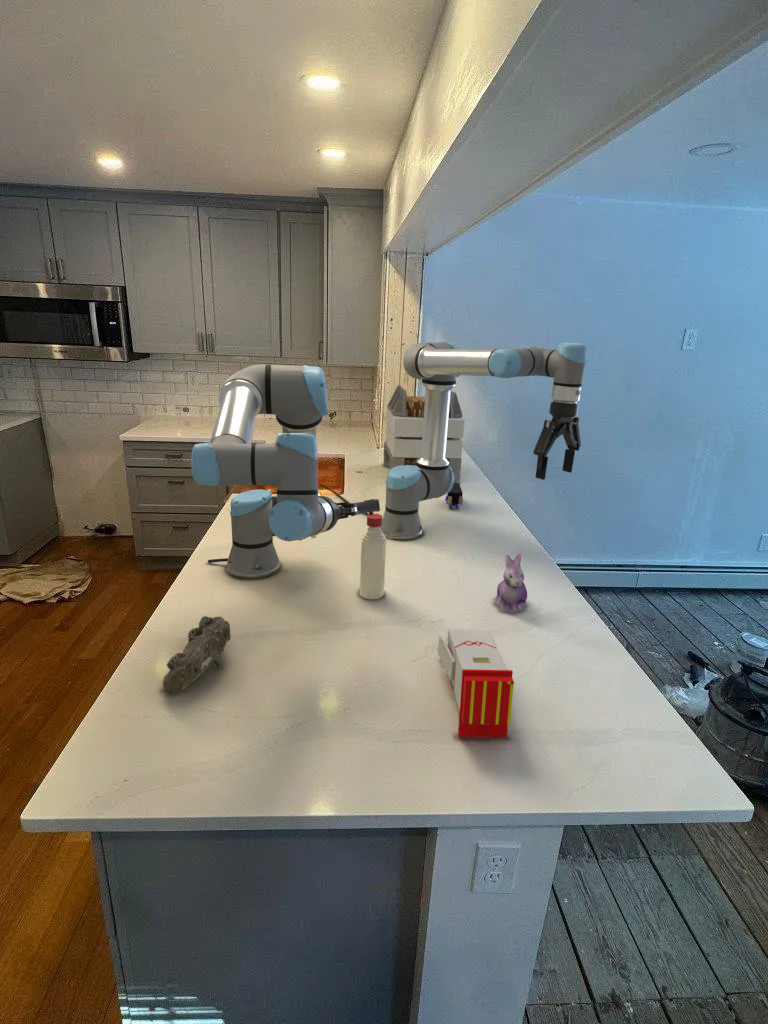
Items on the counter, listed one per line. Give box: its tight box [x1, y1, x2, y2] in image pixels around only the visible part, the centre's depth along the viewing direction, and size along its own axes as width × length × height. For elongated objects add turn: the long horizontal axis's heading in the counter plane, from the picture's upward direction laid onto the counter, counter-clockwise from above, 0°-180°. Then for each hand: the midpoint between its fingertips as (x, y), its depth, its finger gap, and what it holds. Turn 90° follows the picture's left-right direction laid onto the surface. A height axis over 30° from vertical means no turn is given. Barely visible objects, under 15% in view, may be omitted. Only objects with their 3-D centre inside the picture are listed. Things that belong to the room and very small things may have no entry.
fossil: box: [162, 615, 232, 693], centre depth 122 cm, size 22×10×15 cm
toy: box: [437, 628, 515, 738], centre depth 117 cm, size 12×13×30 cm
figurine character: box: [444, 483, 464, 510], centre depth 231 cm, size 7×8×15 cm
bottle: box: [359, 526, 387, 600], centre depth 154 cm, size 7×7×23 cm
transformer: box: [383, 384, 465, 484], centre depth 268 cm, size 34×33×41 cm
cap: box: [366, 513, 383, 527], centre depth 150 cm, size 4×4×2 cm
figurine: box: [495, 552, 528, 614], centre depth 152 cm, size 9×10×15 cm
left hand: (345, 508), depth 135 cm, fingers open, 13 cm apart
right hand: (553, 475), depth 164 cm, fingers open, 13 cm apart
